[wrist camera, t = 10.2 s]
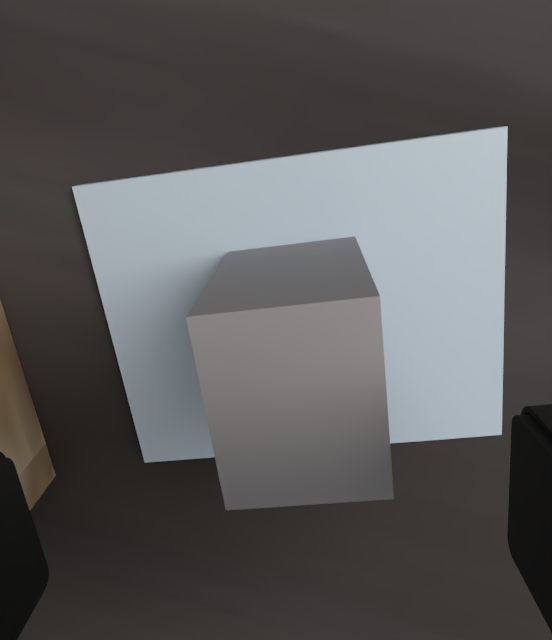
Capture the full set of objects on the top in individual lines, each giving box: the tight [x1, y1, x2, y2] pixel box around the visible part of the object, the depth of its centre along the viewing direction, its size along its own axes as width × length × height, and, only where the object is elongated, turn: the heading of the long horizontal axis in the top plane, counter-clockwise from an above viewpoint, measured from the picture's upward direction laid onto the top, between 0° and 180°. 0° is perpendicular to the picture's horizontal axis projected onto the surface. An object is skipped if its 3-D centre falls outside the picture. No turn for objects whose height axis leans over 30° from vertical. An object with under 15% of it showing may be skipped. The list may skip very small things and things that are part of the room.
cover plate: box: [72, 126, 508, 510], centre depth 15 cm, size 10×13×7 cm
